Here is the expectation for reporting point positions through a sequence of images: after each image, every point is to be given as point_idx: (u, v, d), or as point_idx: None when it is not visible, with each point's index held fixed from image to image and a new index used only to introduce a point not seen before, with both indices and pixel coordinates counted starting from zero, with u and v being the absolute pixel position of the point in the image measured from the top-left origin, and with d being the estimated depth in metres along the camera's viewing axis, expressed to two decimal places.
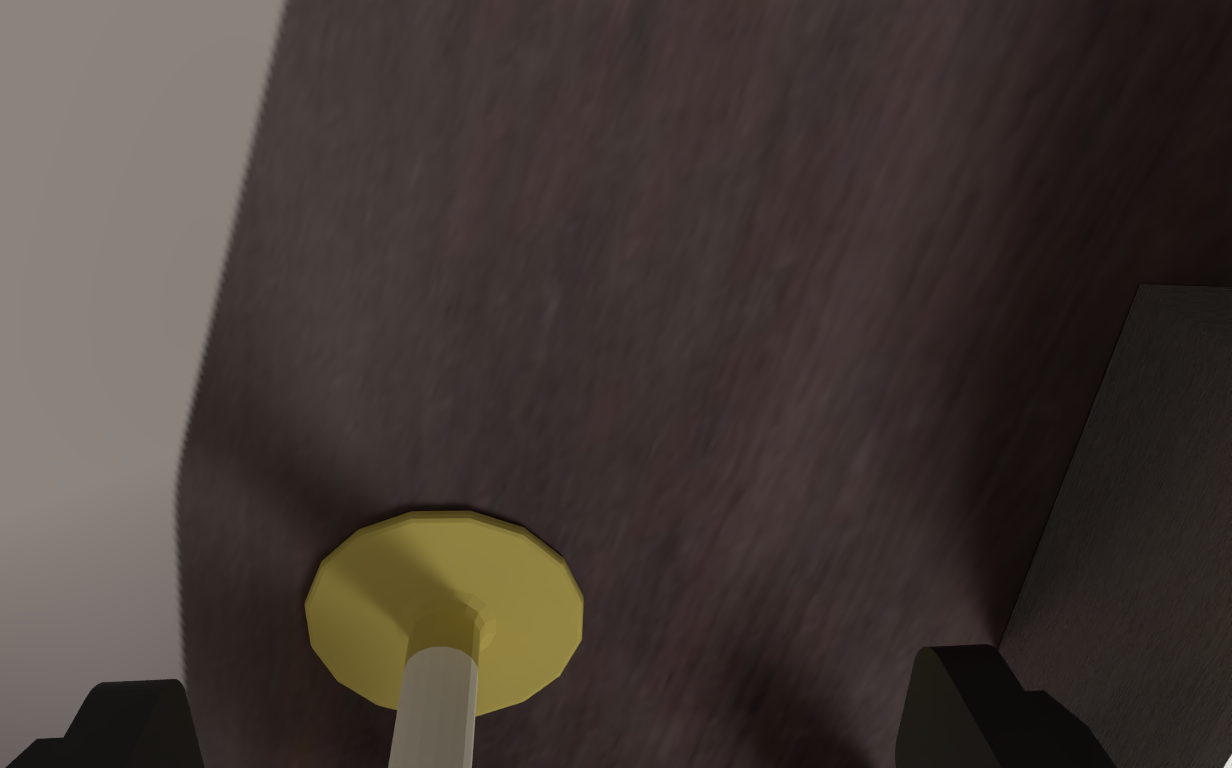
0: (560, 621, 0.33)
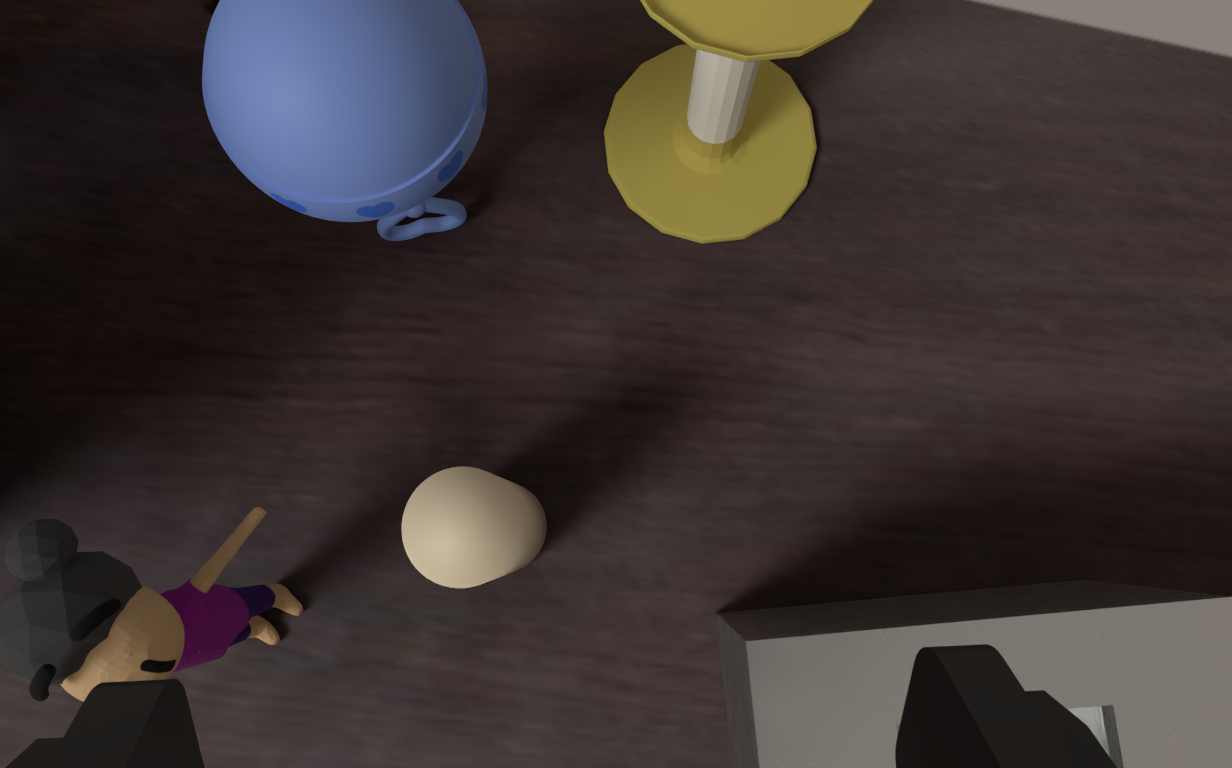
0: (724, 221, 0.42)
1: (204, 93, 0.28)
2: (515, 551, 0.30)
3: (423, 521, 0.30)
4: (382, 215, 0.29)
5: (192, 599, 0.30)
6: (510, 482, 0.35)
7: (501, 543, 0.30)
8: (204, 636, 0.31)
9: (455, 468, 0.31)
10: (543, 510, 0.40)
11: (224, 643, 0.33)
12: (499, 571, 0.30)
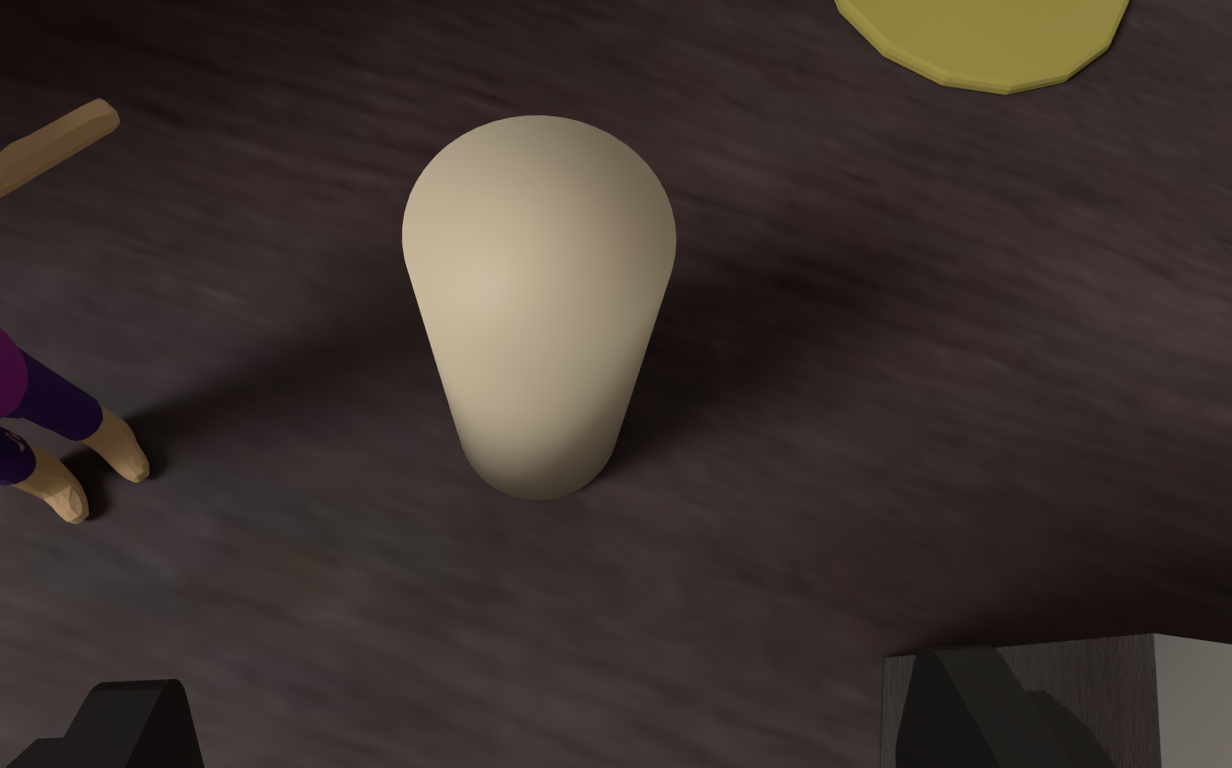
0: (983, 59, 0.27)
1: None
2: (649, 311, 0.13)
3: (461, 201, 0.13)
4: None
5: None
6: None
7: (621, 287, 0.13)
8: None
9: (555, 120, 0.14)
10: None
11: None
12: (605, 342, 0.13)
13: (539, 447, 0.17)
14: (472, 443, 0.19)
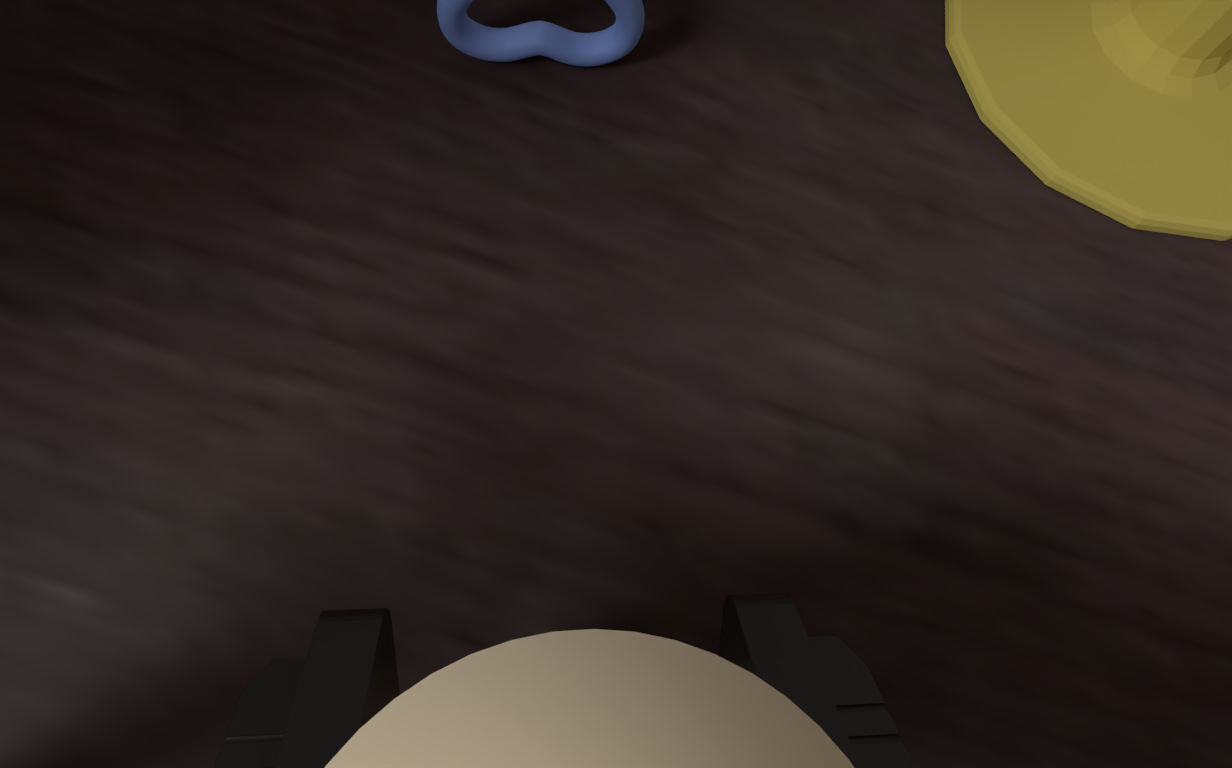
0: (1192, 191, 0.19)
1: None
2: None
3: None
4: None
5: None
6: None
7: None
8: None
9: (621, 638, 0.06)
10: None
11: None
12: None
13: None
14: None
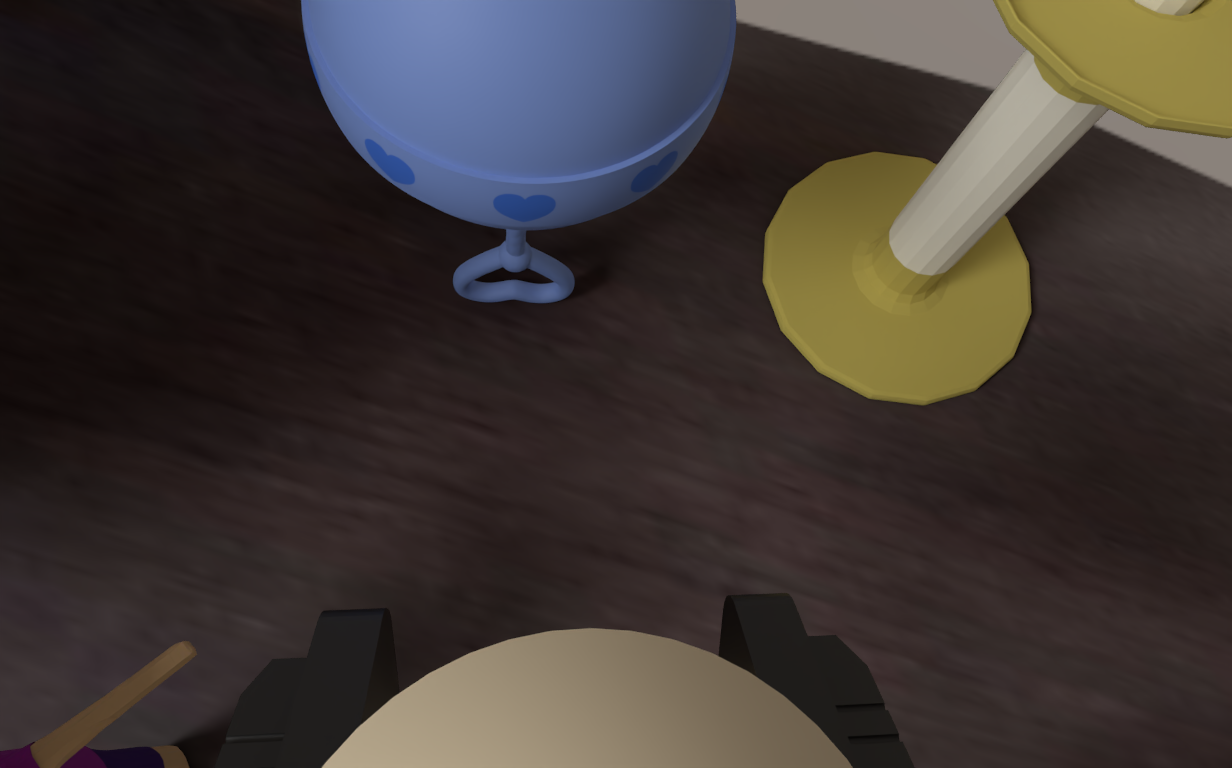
0: (904, 376, 0.32)
1: None
2: None
3: None
4: (527, 220, 0.18)
5: None
6: None
7: None
8: None
9: (618, 637, 0.06)
10: None
11: None
12: None
13: None
14: None
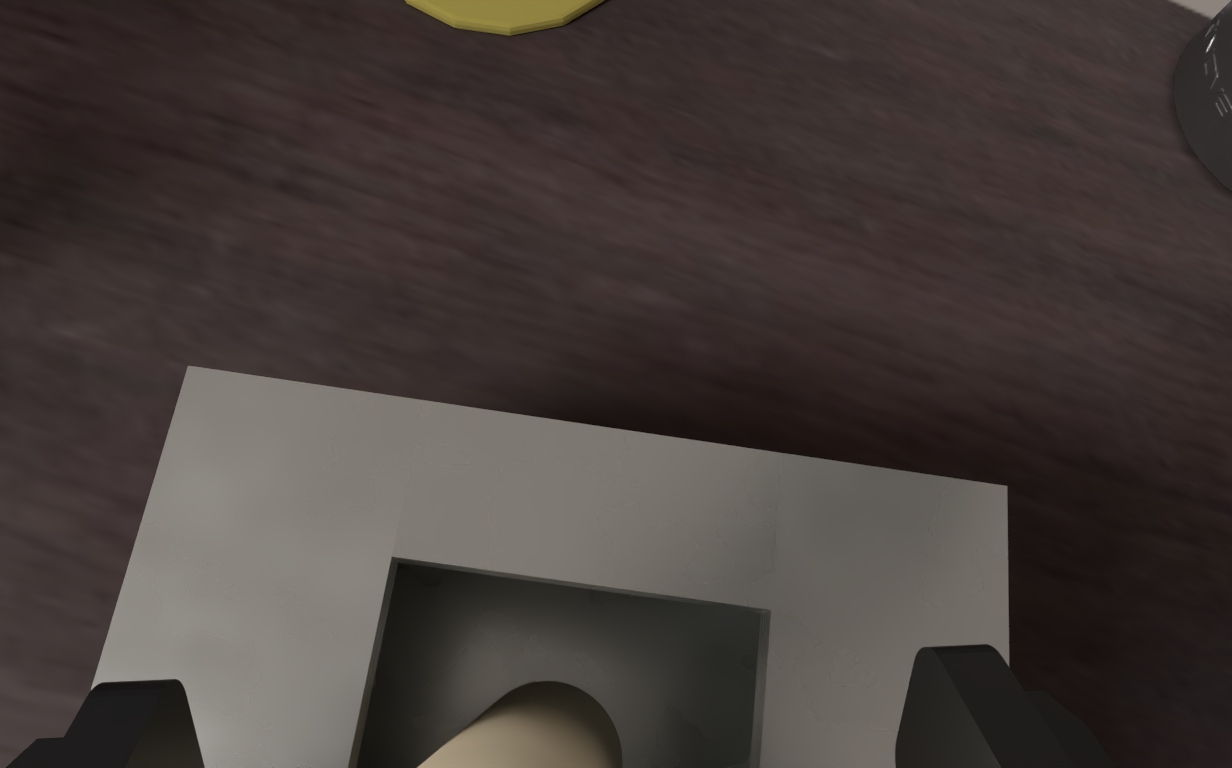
0: (488, 5, 0.32)
1: None
2: None
3: None
4: None
5: None
6: (592, 742, 0.18)
7: None
8: None
9: (504, 745, 0.15)
10: (621, 751, 0.24)
11: None
12: None
13: None
14: None
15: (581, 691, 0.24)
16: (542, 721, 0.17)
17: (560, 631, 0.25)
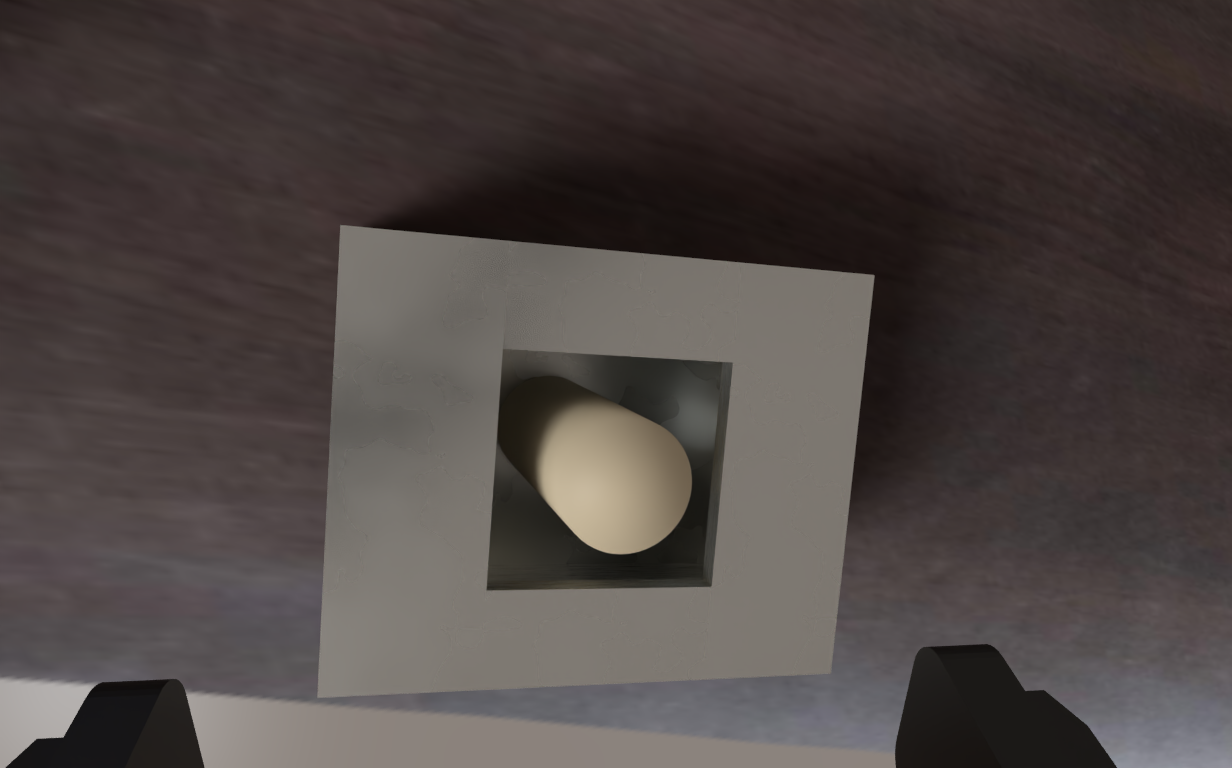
0: None
1: None
2: (679, 519, 0.27)
3: (586, 476, 0.26)
4: None
5: None
6: None
7: (666, 509, 0.27)
8: None
9: (629, 419, 0.26)
10: None
11: None
12: (660, 539, 0.27)
13: None
14: None
15: (569, 380, 0.35)
16: (611, 403, 0.29)
17: None
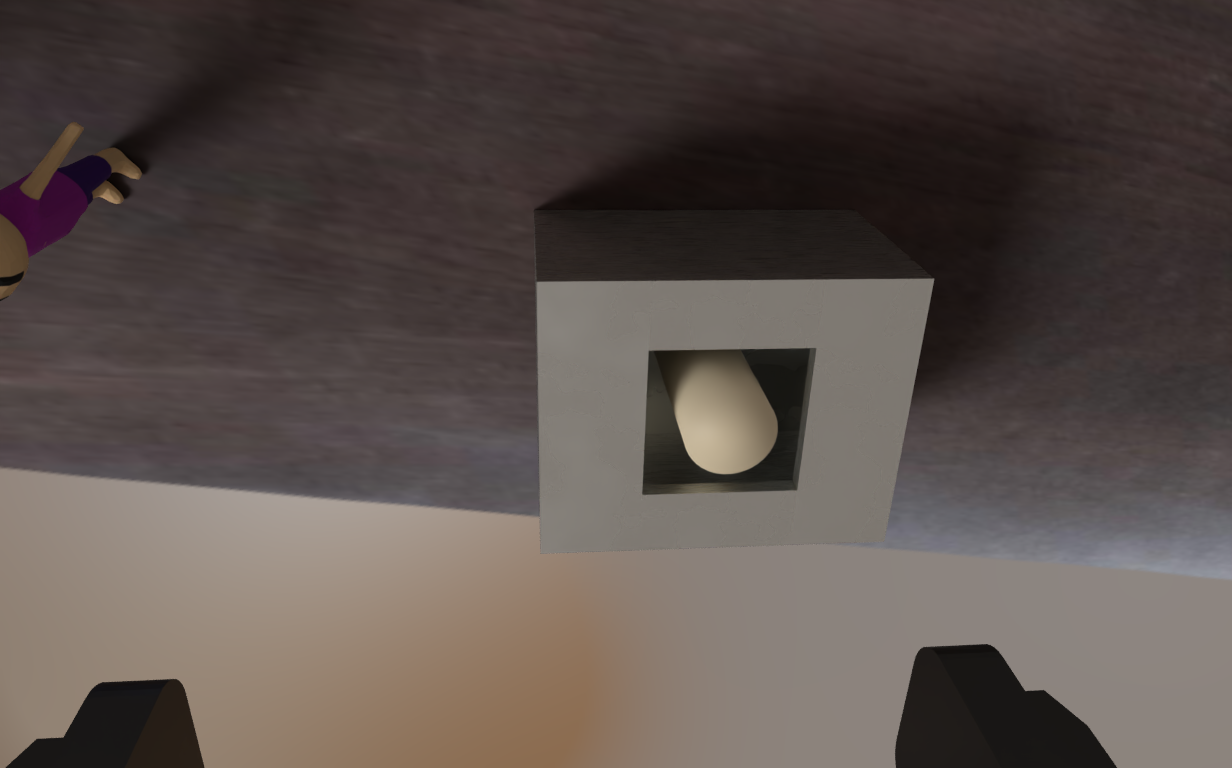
0: None
1: None
2: (769, 450, 0.39)
3: (702, 428, 0.38)
4: None
5: (26, 204, 0.33)
6: (741, 358, 0.41)
7: (759, 445, 0.39)
8: (46, 233, 0.34)
9: (731, 391, 0.37)
10: None
11: (67, 229, 0.36)
12: (755, 464, 0.39)
13: None
14: None
15: None
16: (725, 361, 0.40)
17: None
